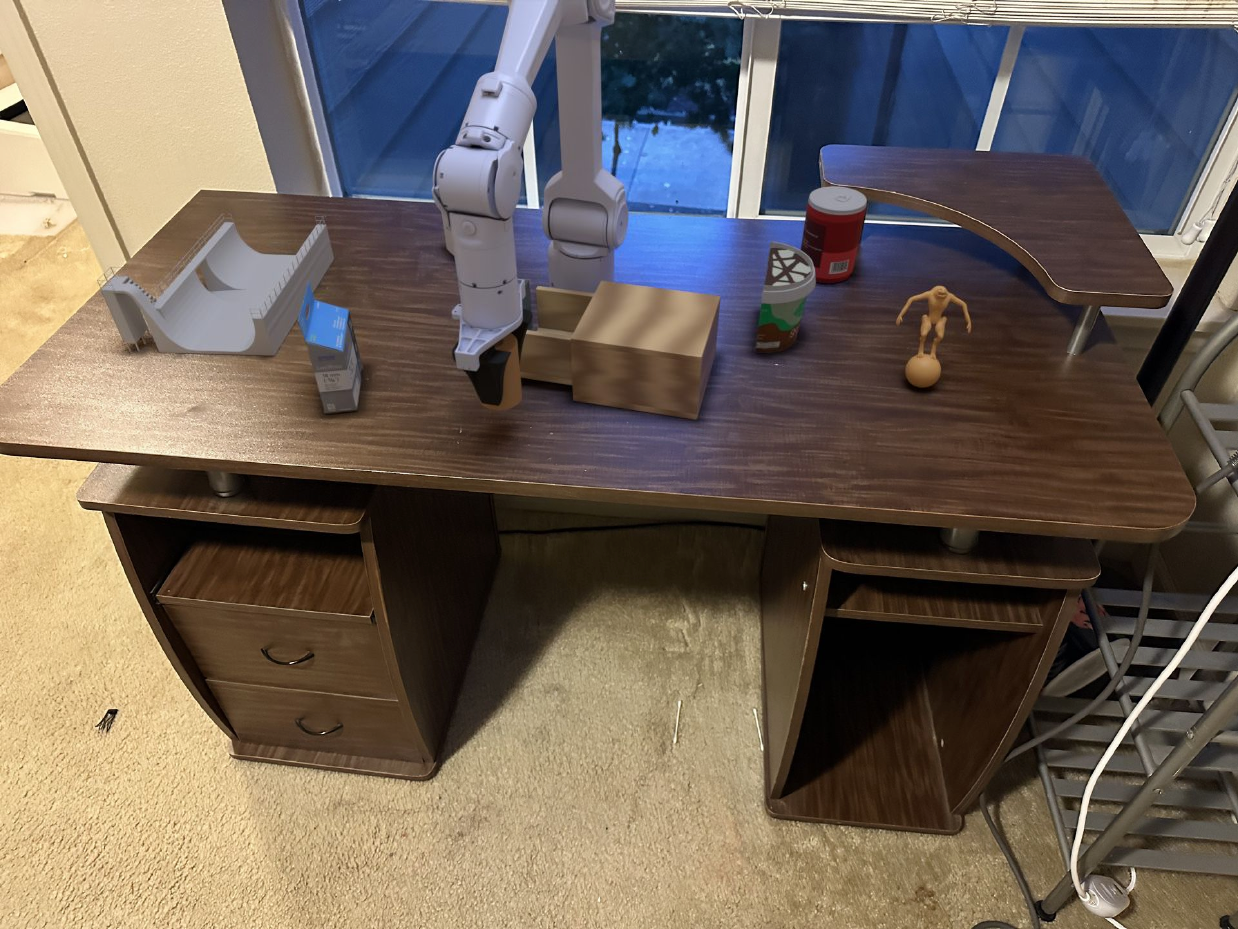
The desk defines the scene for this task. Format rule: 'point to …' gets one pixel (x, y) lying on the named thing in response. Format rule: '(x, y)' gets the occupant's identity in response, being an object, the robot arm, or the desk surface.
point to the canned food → (833, 231)
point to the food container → (783, 297)
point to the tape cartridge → (332, 353)
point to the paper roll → (509, 375)
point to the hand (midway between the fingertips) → (499, 388)
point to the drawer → (552, 333)
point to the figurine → (924, 366)
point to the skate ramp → (223, 297)
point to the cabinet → (645, 349)
